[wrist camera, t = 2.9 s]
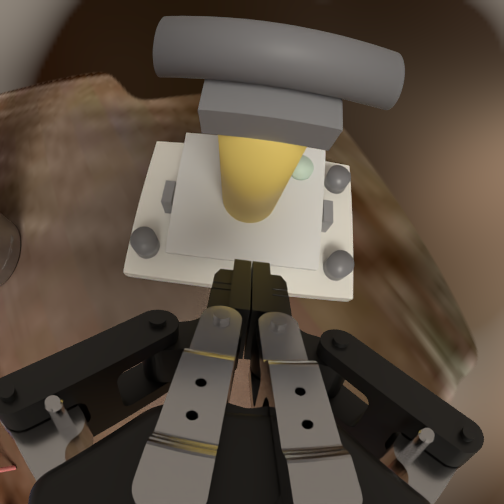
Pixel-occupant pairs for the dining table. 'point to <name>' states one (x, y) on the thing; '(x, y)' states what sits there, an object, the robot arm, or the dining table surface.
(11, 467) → the figurine
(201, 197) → the yellow column stand
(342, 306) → the dining table surface
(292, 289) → the base
